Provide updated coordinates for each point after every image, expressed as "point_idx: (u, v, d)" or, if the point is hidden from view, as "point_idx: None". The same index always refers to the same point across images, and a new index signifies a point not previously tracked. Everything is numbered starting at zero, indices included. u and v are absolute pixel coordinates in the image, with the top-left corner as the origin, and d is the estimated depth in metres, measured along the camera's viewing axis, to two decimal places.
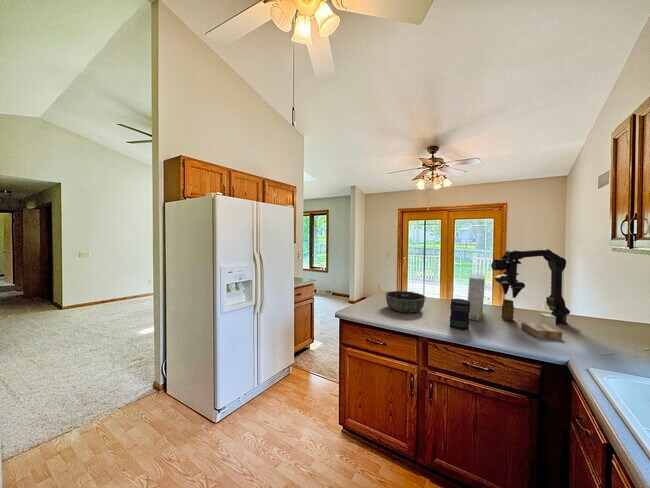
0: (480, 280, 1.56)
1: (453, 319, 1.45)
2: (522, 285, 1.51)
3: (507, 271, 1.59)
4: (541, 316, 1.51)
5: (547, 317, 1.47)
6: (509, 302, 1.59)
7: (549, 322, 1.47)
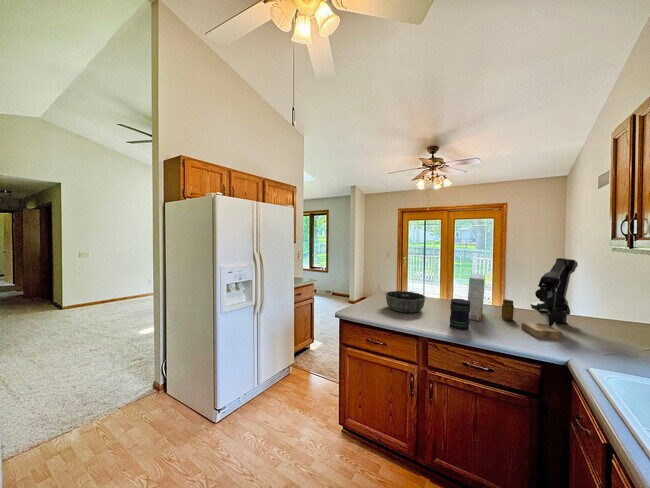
0: (480, 280, 1.56)
1: (453, 319, 1.45)
2: (563, 315, 1.40)
3: None
4: (541, 316, 1.51)
5: (547, 317, 1.47)
6: (509, 302, 1.59)
7: None
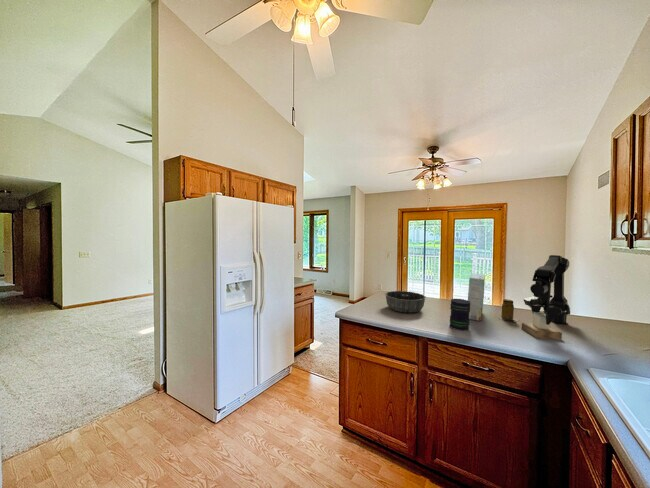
0: (480, 280, 1.56)
1: (453, 319, 1.45)
2: (558, 311, 1.29)
3: None
4: (535, 315, 1.40)
5: (541, 316, 1.36)
6: (509, 302, 1.59)
7: (543, 321, 1.36)
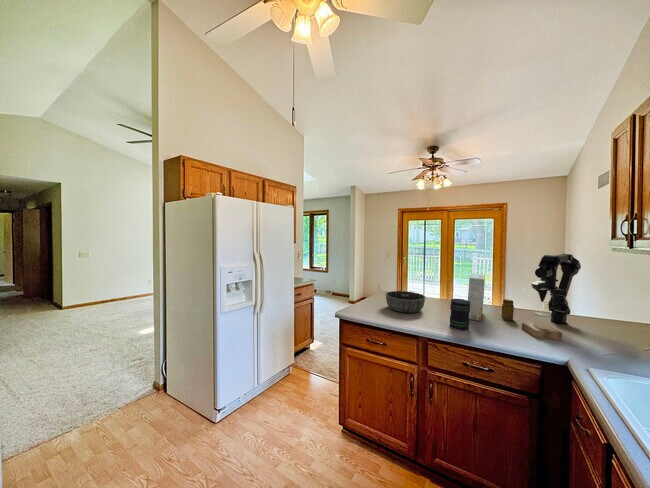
0: (480, 280, 1.56)
1: (453, 319, 1.45)
2: (564, 293, 1.41)
3: (546, 277, 1.49)
4: (535, 315, 1.40)
5: (542, 316, 1.36)
6: (509, 302, 1.59)
7: (544, 321, 1.36)
